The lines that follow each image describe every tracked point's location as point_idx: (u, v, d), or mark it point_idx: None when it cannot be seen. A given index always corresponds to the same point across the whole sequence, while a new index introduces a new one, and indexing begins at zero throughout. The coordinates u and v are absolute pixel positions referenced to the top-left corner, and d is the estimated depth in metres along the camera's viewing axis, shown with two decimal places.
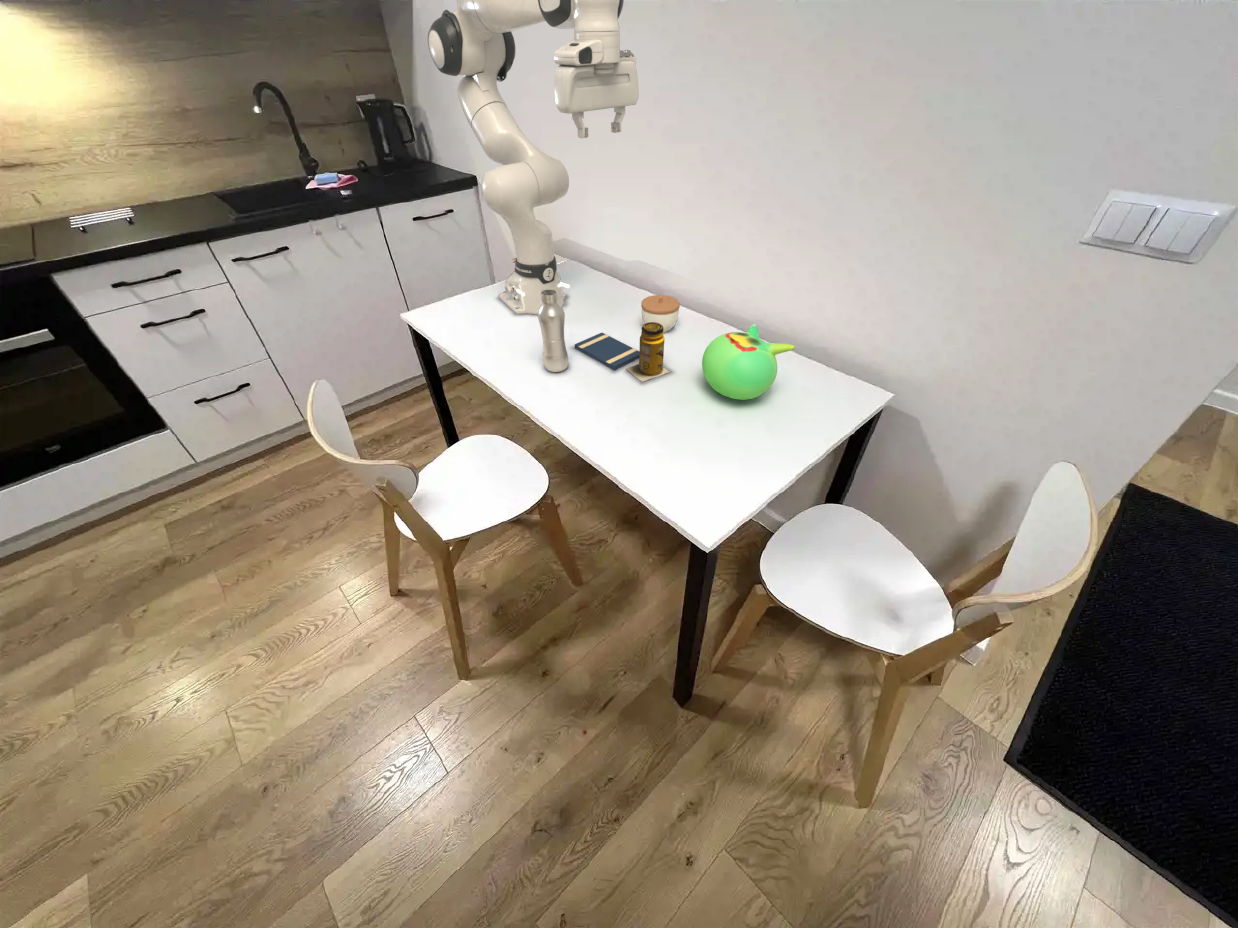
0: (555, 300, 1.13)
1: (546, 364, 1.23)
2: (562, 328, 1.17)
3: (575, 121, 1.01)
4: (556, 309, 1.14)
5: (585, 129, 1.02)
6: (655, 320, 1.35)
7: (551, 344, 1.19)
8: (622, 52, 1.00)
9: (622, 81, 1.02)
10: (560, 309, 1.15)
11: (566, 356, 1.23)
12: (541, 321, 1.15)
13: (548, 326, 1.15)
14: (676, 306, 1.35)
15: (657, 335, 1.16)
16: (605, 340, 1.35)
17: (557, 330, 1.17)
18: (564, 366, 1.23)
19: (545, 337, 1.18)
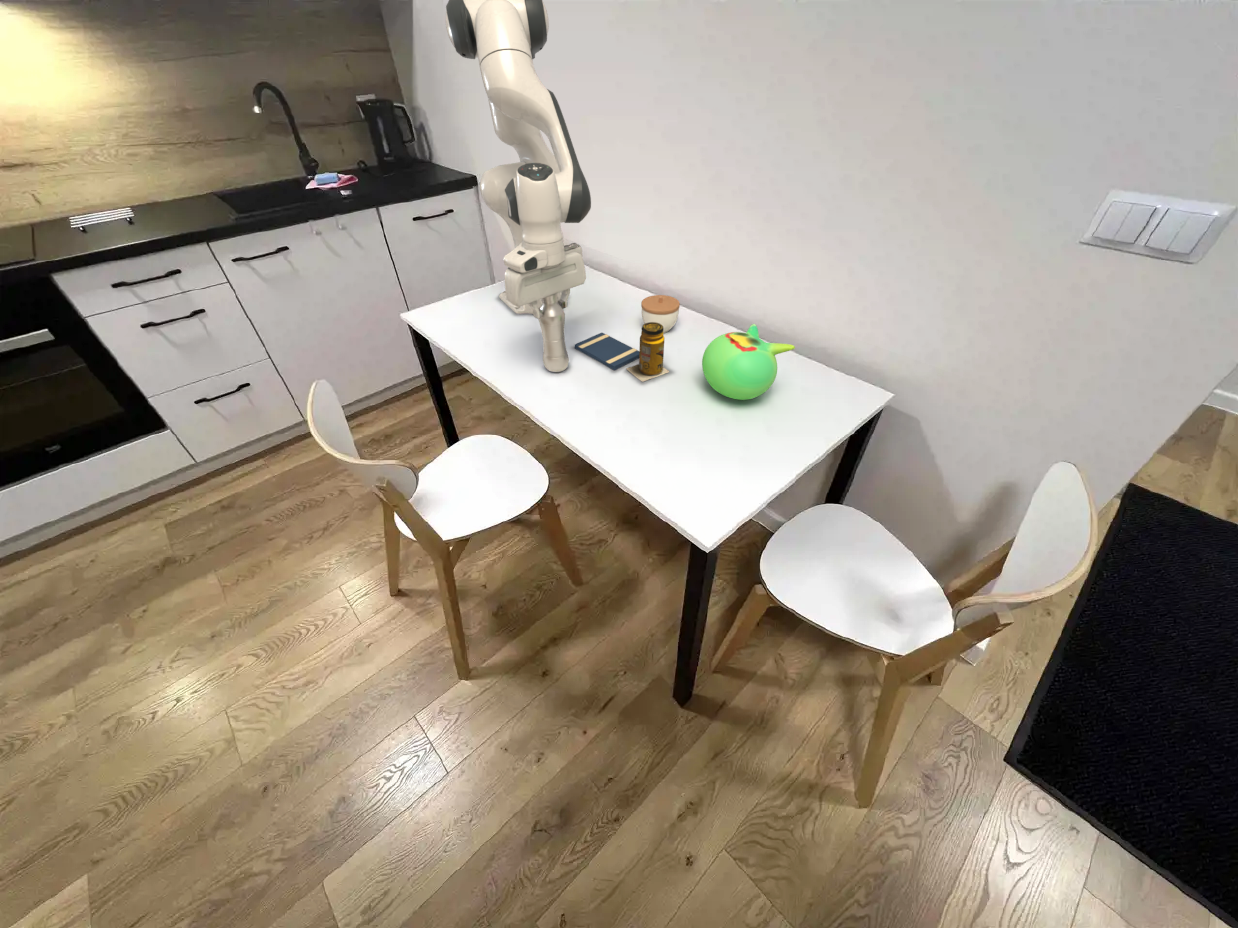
0: (555, 300, 1.13)
1: (546, 364, 1.23)
2: (562, 328, 1.17)
3: (530, 306, 1.12)
4: (556, 310, 1.14)
5: (539, 311, 1.13)
6: (655, 320, 1.35)
7: (551, 344, 1.19)
8: (568, 247, 1.10)
9: (569, 269, 1.12)
10: (560, 309, 1.15)
11: (566, 356, 1.23)
12: (541, 321, 1.15)
13: (549, 326, 1.15)
14: (676, 306, 1.35)
15: (657, 335, 1.16)
16: (605, 340, 1.35)
17: (557, 331, 1.17)
18: (564, 366, 1.23)
19: (545, 337, 1.18)
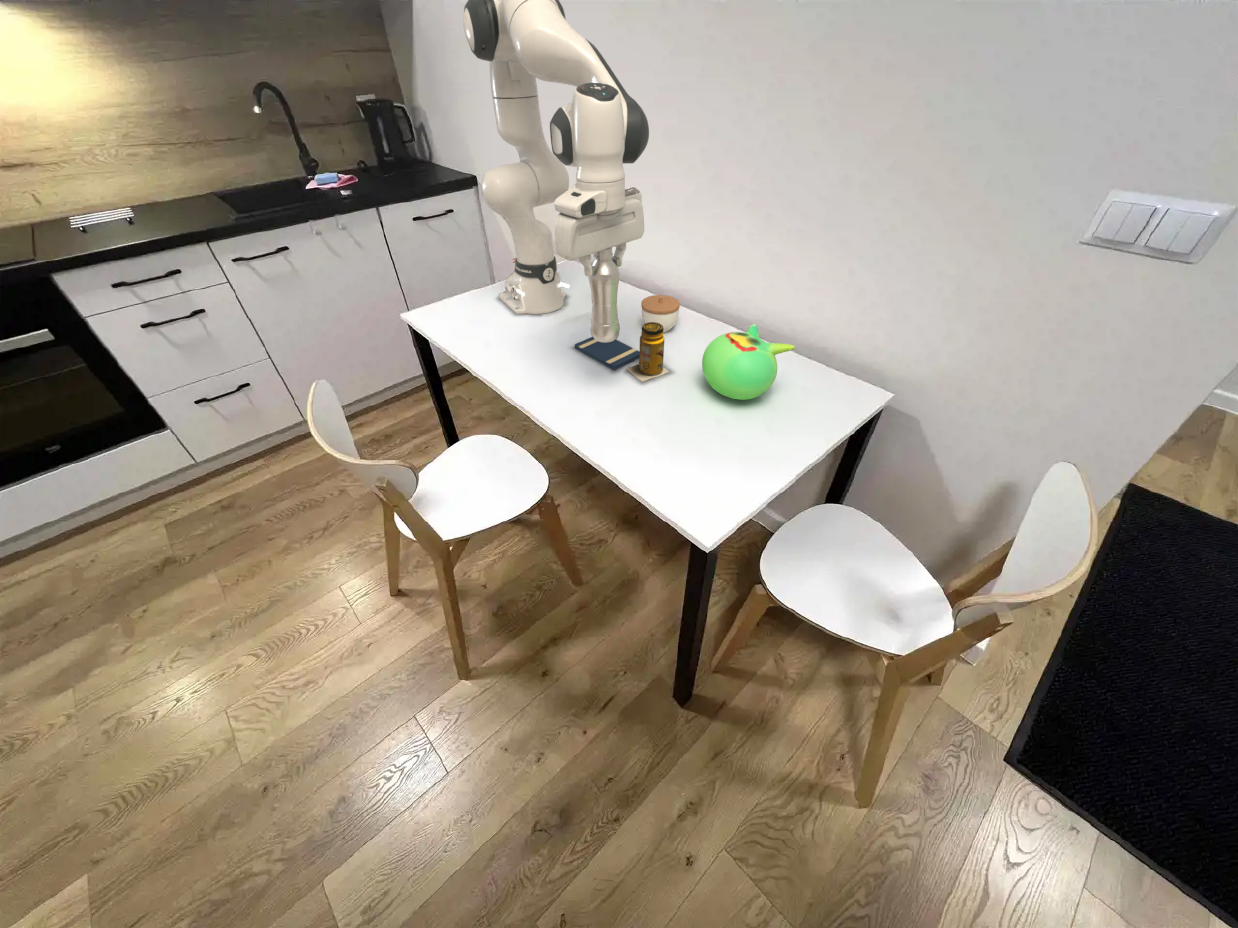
0: (610, 256, 0.97)
1: (595, 333, 1.07)
2: (616, 290, 1.01)
3: (582, 261, 0.96)
4: (611, 267, 0.98)
5: (592, 268, 0.97)
6: (655, 320, 1.35)
7: (602, 308, 1.03)
8: (627, 191, 0.94)
9: (627, 219, 0.96)
10: (615, 267, 0.98)
11: (618, 324, 1.07)
12: (593, 281, 0.99)
13: (601, 287, 0.99)
14: (676, 306, 1.35)
15: (657, 335, 1.16)
16: None
17: (610, 292, 1.00)
18: (615, 336, 1.07)
19: (596, 301, 1.02)
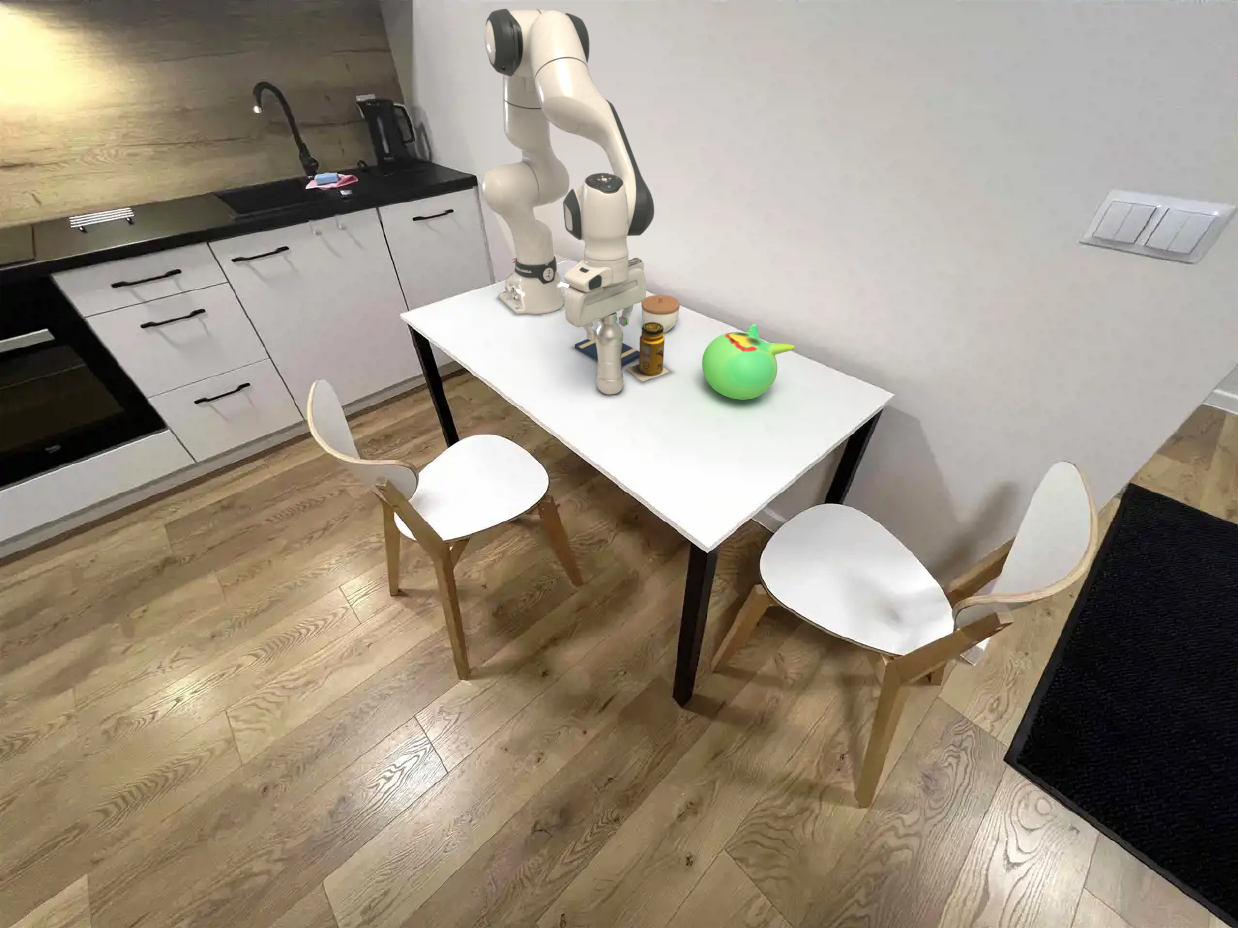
0: (615, 320, 1.05)
1: (600, 386, 1.15)
2: (620, 349, 1.10)
3: (584, 327, 1.03)
4: (615, 330, 1.06)
5: (594, 333, 1.04)
6: (655, 320, 1.35)
7: (607, 365, 1.11)
8: (630, 262, 1.02)
9: (630, 286, 1.04)
10: (619, 329, 1.07)
11: (622, 378, 1.15)
12: (599, 342, 1.07)
13: (606, 348, 1.08)
14: (676, 306, 1.35)
15: (657, 335, 1.16)
16: None
17: (615, 352, 1.09)
18: (619, 388, 1.16)
19: (601, 358, 1.10)
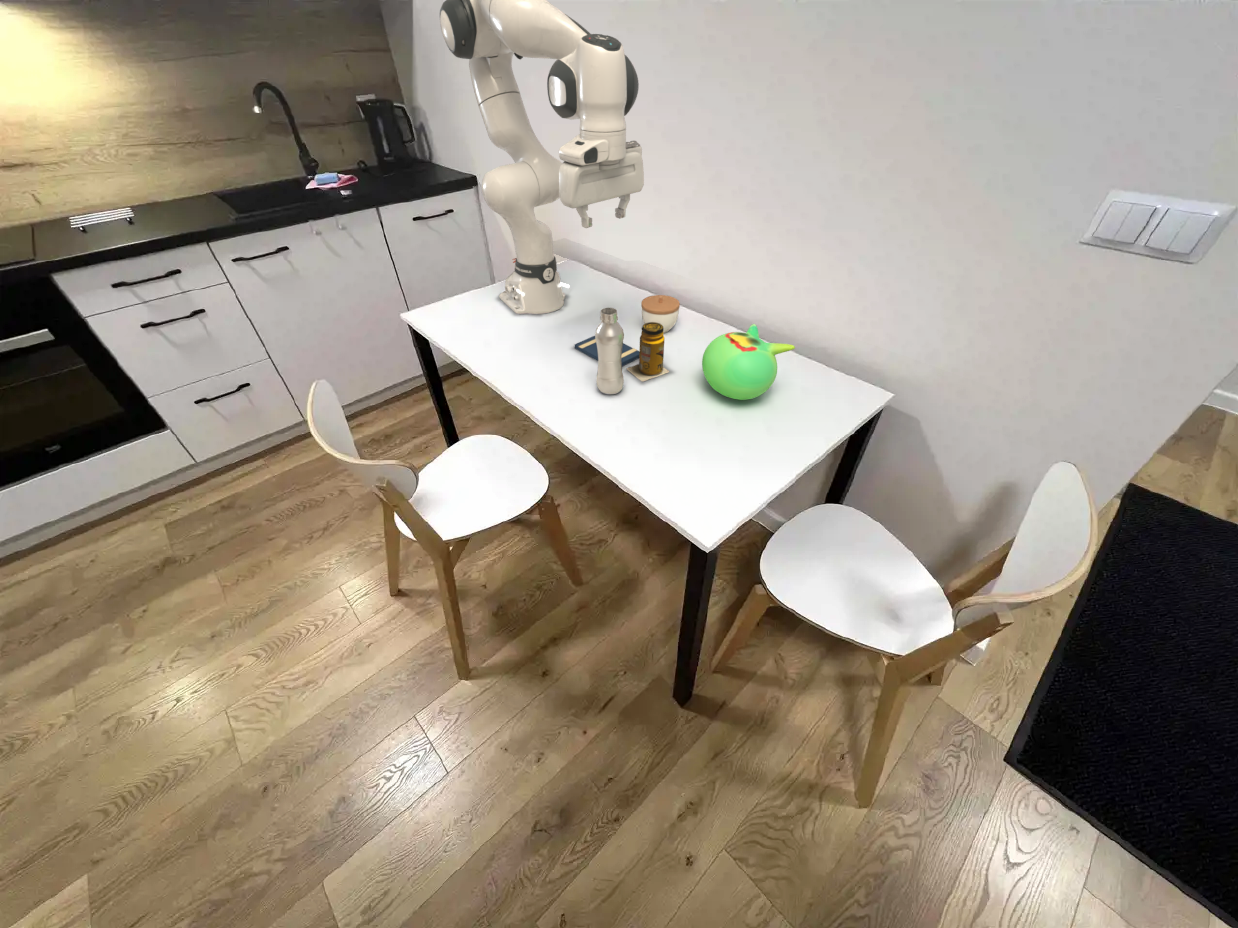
0: (616, 319, 1.05)
1: (600, 386, 1.15)
2: (620, 349, 1.10)
3: (579, 212, 1.00)
4: (616, 329, 1.06)
5: (589, 220, 1.01)
6: (655, 320, 1.35)
7: (608, 365, 1.11)
8: (628, 144, 0.98)
9: (628, 171, 1.00)
10: (620, 329, 1.07)
11: (622, 378, 1.15)
12: (599, 341, 1.08)
13: (607, 347, 1.08)
14: (676, 306, 1.35)
15: (657, 335, 1.16)
16: None
17: (615, 351, 1.09)
18: (619, 388, 1.16)
19: (602, 358, 1.11)
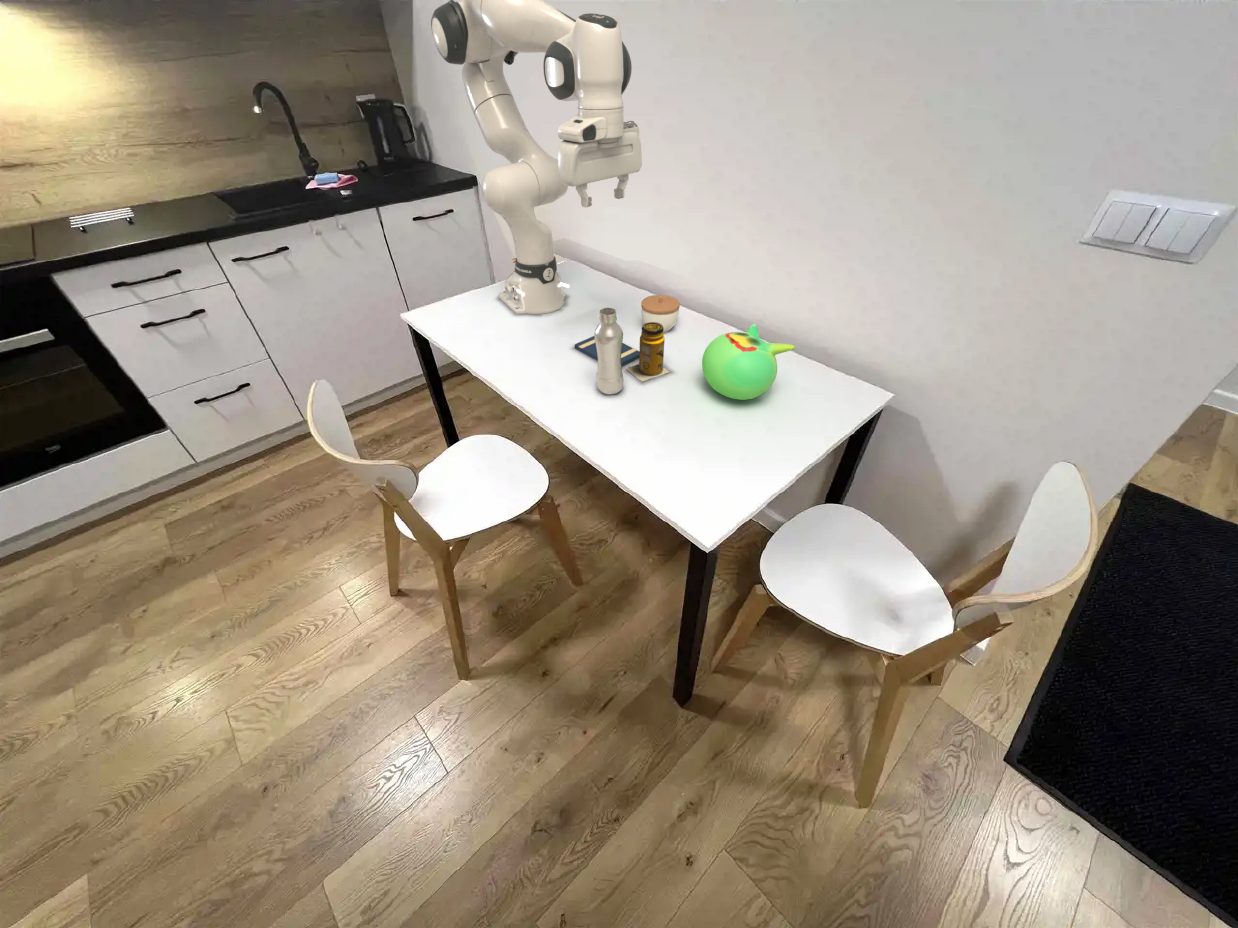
0: (615, 319, 1.05)
1: (600, 386, 1.15)
2: (620, 349, 1.10)
3: (579, 191, 1.01)
4: (615, 329, 1.06)
5: (588, 199, 1.03)
6: (655, 320, 1.35)
7: (607, 365, 1.11)
8: (626, 123, 1.00)
9: (626, 151, 1.02)
10: (619, 329, 1.07)
11: (622, 378, 1.15)
12: (598, 341, 1.08)
13: (606, 347, 1.08)
14: (676, 306, 1.35)
15: (657, 335, 1.16)
16: None
17: (614, 351, 1.09)
18: (619, 388, 1.16)
19: (601, 358, 1.11)
